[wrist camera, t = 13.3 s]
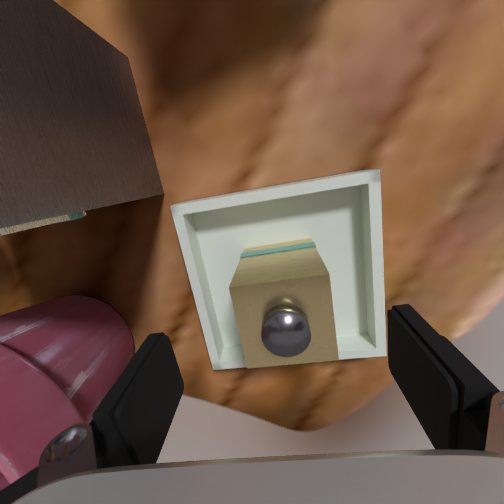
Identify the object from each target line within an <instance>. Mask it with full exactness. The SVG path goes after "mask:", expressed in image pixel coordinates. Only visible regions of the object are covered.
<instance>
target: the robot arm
mask: <svg viewBox="0 0 504 504" xmlns="http://www.w3.org/2000/svg"><path fill="white" fill-rule="evenodd" d="M388 363H389V369H390V372H391V374H392V375H393V377H394V379H395V381H396V382H397V384H398V386H399V388H400V389H401V391H402V393H403V394H404V396H405V398H406V400H407V401H408V403H409V405H410V407H411V408H412V410H413V412H414V413H415V415H416V417H417V418H418V420H419V422H420V424H421V425H422V427H423V429H424V431H425V432H426V434H427V436H428V438H429V439H430V441H431V443H432V445H433V446H434V448H435V450H400V451H377V452H376V451H374V452H354V453H332V454H312V455H294V456H275V457H255V458H238V459H220V460H203V461H187V462H171V463H156V462H157V459H158V457H159V454H160V451H161V449H162V446H163V444H164V441H165V438H166V436H167V433H168V430H169V428H170V425H171V422H172V419H173V417H174V415H175V412H176V409H177V407H178V404H179V401H180V399H181V396H182V394H183V391H184V382H183V379H182V376H181V373H180V370H179V367H178V364H177V361H176V357H175V354H174V351H173V348H172V345H171V342H170V339H169V337H168V336H167V335H165V334H164V333H154V334H149V335H148V336H147V338H146V339H145V341H144V342H143V344H142V345H141V346H140V348H139V349H138V351H137V352H136V353H135V355H134V356H133V358H132V359H131V360H130V362H129V363H128V365H127V366H126V368H125V369H124V370H123V372H122V373H121V375H120V376H119V377H118V379H117V380H116V382H115V383H114V384H113V386H112V387H111V389H110V390H109V391H108V393H107V394H106V396H105V397H104V399H103V400H102V401H101V403H100V404H99V406H98V407H97V408H96V410H95V411H94V413H93V414H92V417H93V419H92V420H91V422H90V423H89V424H87V423H79V424H75V425H72V426H70V427H68V428H66V429H65V430H63V431H62V432H60V433H59V434H58V435H56V436H55V437H54V438H53V439H52V440H51V441H50V442H49V443H48V444H47V446H46V447H45V448H44V450H43V452H42V453H41V456H40V460H39V466H37V467H36V468H34V469H33V470H31V471H30V472H28V473H27V474H25V475H24V476H22V477H20V478H19V479H17V480H16V481H14V482H13V483H11V484H10V485H8V486H7V487H5V488H4V489H2V490H1V491H0V504H504V391H501V392H500V391H499V390H498V389H497V388H496V387H495V386H494V385H493V384H492V383H491V382H490V381H489V380H488V379H487V378H486V377H485V376H484V375H483V374H482V373H481V372H480V371H479V370H478V369H477V368H476V367H475V366H474V365H473V364H472V363H471V362H470V361H469V360H468V359H467V358H466V357H465V356H464V355H463V354H462V353H461V352H460V351H459V350H458V349H457V348H456V347H455V346H454V345H453V344H452V343H451V342H450V341H449V340H448V339H447V338H445V337H444V336H441V335H439V334H438V333H437V332H436V331H435V330H434V329H433V328H432V327H431V326H430V325H429V324H428V323H427V322H426V321H425V320H424V319H423V318H422V317H421V316H420V315H419V314H418V313H417V312H416V311H415V310H414V309H413V308H412V307H411V306H410V305H409V304H403V305H395V306H392V310H388Z"/></svg>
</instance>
